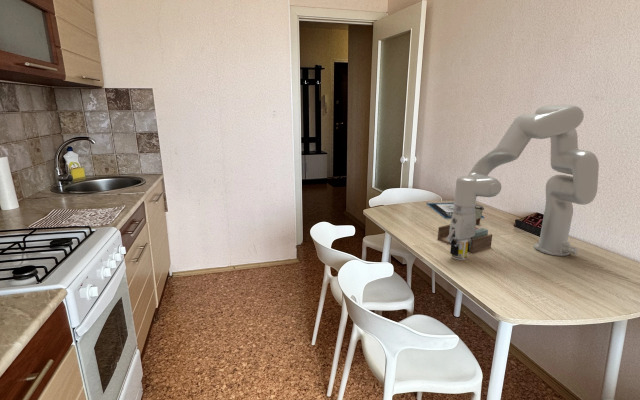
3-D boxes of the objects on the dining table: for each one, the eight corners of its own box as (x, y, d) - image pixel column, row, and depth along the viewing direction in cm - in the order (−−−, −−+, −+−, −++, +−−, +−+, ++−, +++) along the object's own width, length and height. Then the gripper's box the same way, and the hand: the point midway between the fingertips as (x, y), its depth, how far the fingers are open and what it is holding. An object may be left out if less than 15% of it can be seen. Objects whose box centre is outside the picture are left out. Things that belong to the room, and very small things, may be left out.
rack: (490, 248, 148) (493, 230, 146) (472, 253, 142) (474, 235, 140) (455, 235, 163) (457, 218, 161) (437, 239, 157) (439, 222, 155)
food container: (478, 221, 182) (480, 203, 180) (482, 225, 176) (484, 206, 174) (453, 221, 184) (455, 202, 181) (457, 224, 178) (459, 205, 175)
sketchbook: (445, 220, 187) (445, 216, 186) (425, 205, 216) (425, 202, 215) (484, 219, 188) (485, 215, 188) (459, 204, 217) (459, 201, 217)
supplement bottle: (462, 254, 141) (464, 230, 138) (469, 260, 136) (472, 235, 133) (448, 255, 140) (451, 231, 138) (455, 260, 135) (458, 235, 133)
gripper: (456, 215, 126) (452, 261, 130) (487, 208, 134) (481, 252, 139) (440, 209, 132) (436, 254, 137) (470, 203, 140) (465, 246, 145)
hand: (459, 252), depth 138 cm, fingers closed on supplement bottle, 5 cm apart
